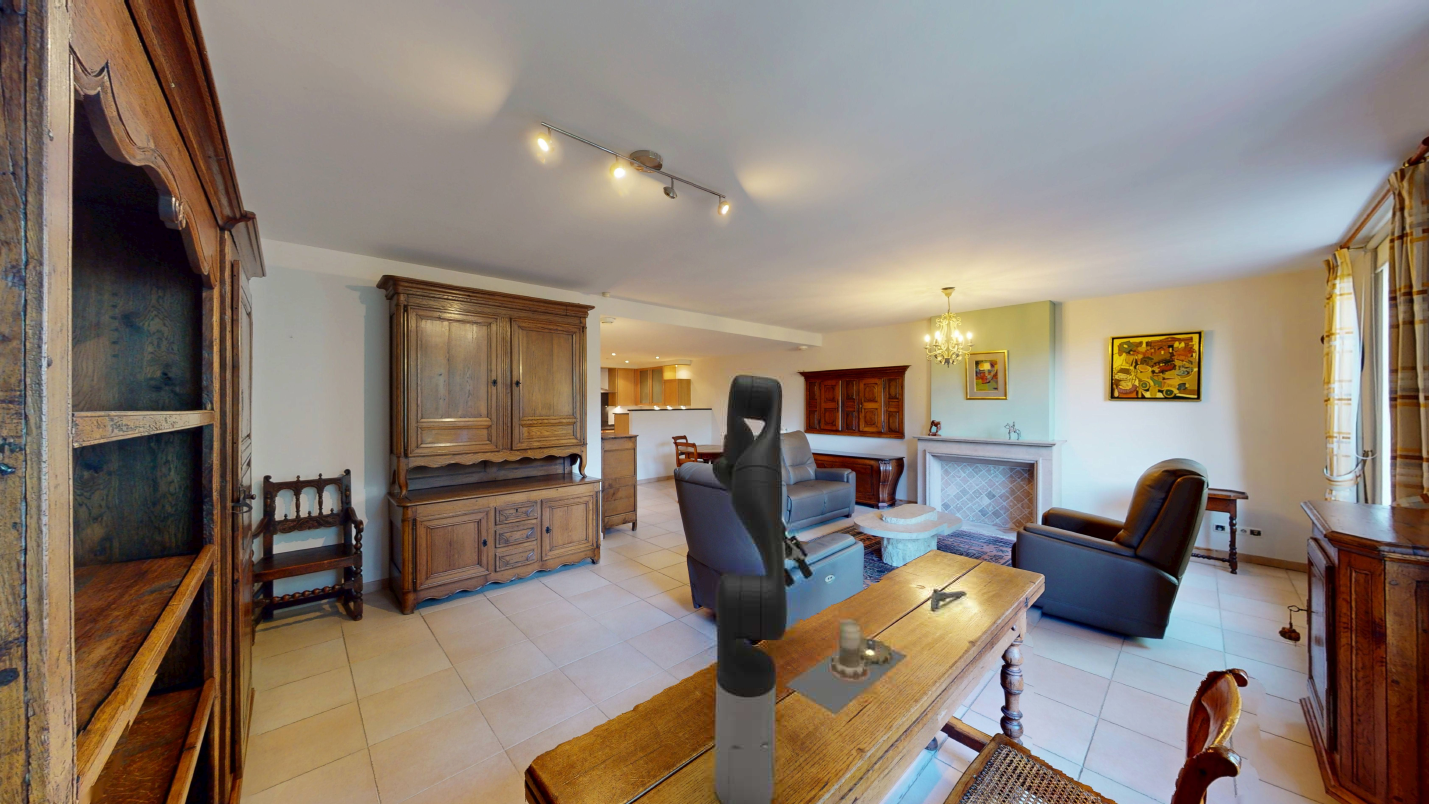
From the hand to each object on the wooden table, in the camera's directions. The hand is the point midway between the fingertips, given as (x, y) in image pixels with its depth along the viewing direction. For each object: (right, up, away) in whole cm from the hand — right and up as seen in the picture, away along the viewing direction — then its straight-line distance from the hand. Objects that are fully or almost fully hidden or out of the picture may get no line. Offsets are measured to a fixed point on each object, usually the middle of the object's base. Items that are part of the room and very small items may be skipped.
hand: (800, 581), depth 110 cm
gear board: (+9, -18, -7) cm, 22 cm away
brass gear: (+16, -17, -1) cm, 23 cm away
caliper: (+51, -19, +32) cm, 63 cm away
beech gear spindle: (+9, -17, -7) cm, 20 cm away
